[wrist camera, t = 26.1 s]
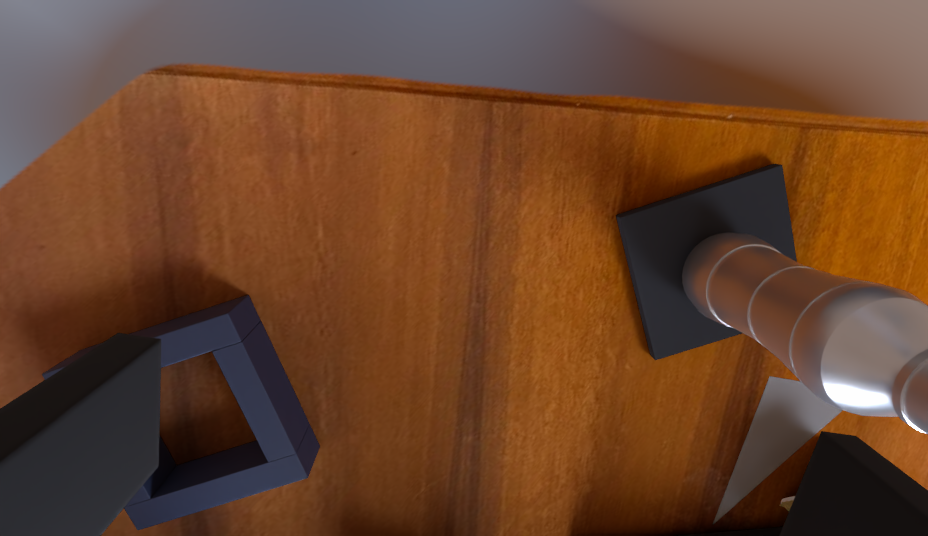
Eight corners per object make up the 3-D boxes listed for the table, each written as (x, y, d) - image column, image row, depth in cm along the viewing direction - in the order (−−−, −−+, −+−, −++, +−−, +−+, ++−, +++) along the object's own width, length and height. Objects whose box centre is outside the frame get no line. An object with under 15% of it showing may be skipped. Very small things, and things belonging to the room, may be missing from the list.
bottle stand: (79, 350, 40) (40, 374, 36) (248, 294, 39) (227, 312, 35) (164, 494, 43) (137, 530, 40) (320, 446, 43) (308, 478, 39)
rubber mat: (615, 215, 38) (620, 217, 37) (773, 163, 38) (782, 164, 37) (650, 355, 42) (655, 360, 41) (796, 309, 41) (805, 314, 40)
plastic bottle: (711, 326, 40) (959, 514, 21) (652, 271, 39) (860, 416, 19) (775, 266, 39) (1101, 406, 20) (718, 206, 37) (1007, 294, 18)
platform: (701, 551, 47) (741, 618, 41) (769, 376, 43) (826, 420, 36) (822, 568, 48) (879, 635, 42) (901, 398, 44) (978, 445, 37)
